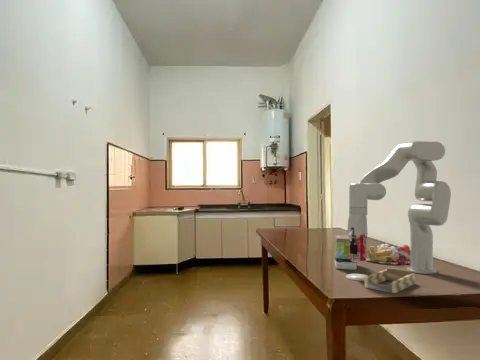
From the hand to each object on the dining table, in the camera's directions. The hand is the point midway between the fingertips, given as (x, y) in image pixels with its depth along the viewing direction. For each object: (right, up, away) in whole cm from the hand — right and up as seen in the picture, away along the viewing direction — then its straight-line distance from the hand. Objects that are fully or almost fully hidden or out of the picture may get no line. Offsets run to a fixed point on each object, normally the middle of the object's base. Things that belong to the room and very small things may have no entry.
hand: (357, 252), depth 166 cm
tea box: (+1, -12, +25) cm, 27 cm away
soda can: (0, -4, 0) cm, 4 cm away
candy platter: (+29, -13, +41) cm, 52 cm away
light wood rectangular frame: (+9, -11, -13) cm, 19 cm away
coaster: (0, -11, 0) cm, 11 cm away
